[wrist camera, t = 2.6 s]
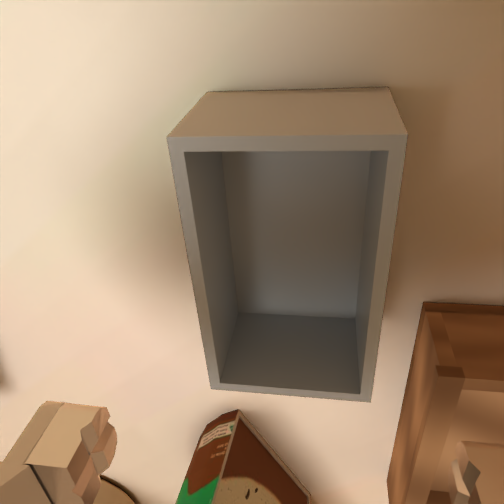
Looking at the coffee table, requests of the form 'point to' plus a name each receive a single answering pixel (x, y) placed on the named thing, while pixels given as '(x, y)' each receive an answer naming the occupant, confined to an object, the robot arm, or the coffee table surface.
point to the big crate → (447, 398)
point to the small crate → (290, 234)
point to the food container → (238, 468)
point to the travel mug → (111, 495)
